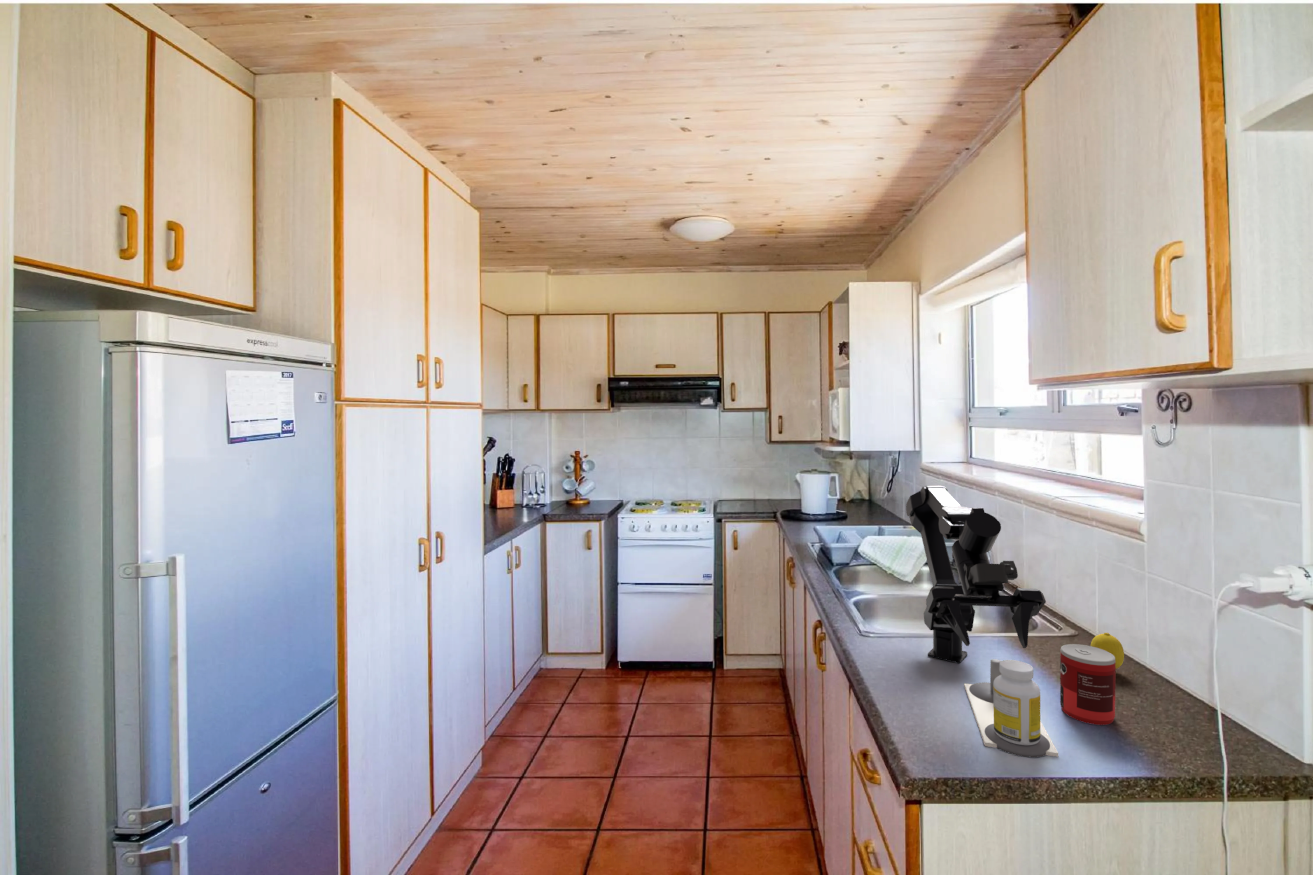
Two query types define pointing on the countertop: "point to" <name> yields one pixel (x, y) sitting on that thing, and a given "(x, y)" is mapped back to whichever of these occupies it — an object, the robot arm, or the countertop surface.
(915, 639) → the countertop surface
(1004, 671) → the pill bottle
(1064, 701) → the canned food
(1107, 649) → the lemon
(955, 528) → the robot arm
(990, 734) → the board
